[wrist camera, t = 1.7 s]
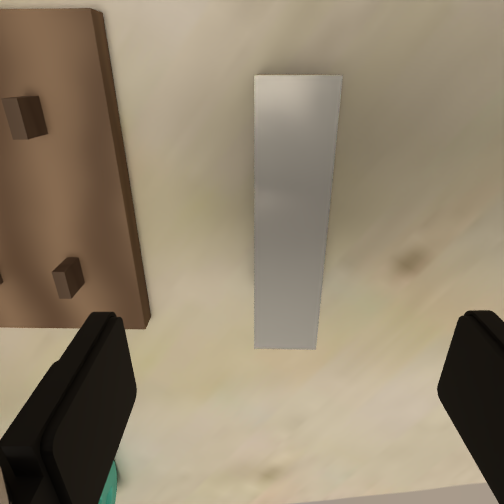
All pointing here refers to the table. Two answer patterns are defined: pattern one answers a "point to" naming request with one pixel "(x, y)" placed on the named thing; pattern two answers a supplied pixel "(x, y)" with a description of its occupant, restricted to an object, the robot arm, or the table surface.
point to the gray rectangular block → (292, 203)
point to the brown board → (63, 177)
